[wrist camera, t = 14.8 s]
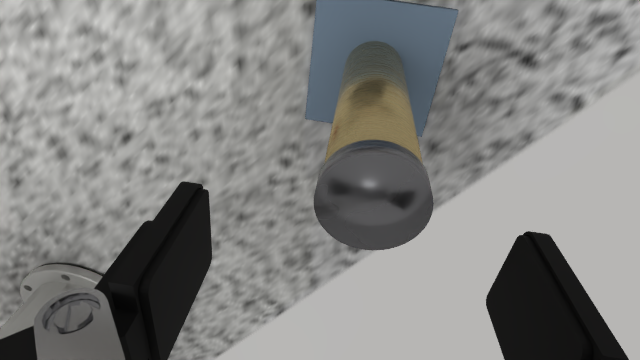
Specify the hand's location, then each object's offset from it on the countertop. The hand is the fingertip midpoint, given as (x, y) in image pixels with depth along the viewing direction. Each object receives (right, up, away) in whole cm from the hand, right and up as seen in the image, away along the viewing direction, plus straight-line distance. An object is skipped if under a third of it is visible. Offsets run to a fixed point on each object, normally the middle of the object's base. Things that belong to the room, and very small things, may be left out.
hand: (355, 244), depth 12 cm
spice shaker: (+2, +9, +12) cm, 15 cm away
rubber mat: (+2, +9, +13) cm, 16 cm away
